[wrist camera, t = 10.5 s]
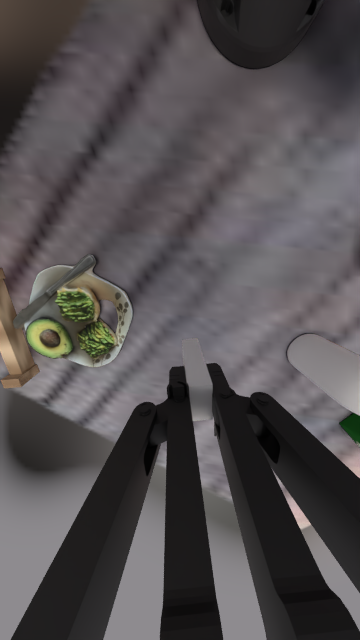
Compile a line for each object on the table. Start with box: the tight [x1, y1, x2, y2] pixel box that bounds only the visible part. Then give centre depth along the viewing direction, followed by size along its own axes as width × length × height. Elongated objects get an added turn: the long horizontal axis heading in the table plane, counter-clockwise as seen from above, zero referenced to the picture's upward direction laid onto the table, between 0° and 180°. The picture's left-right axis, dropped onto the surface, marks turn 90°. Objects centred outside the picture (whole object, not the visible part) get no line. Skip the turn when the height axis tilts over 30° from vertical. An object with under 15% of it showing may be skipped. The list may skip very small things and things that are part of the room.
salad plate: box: [13, 255, 133, 367], centre depth 29 cm, size 19×18×5 cm
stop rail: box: [0, 268, 39, 388], centre depth 29 cm, size 19×3×4 cm, turn 4°
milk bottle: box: [287, 334, 360, 416], centre depth 27 cm, size 8×8×20 cm
